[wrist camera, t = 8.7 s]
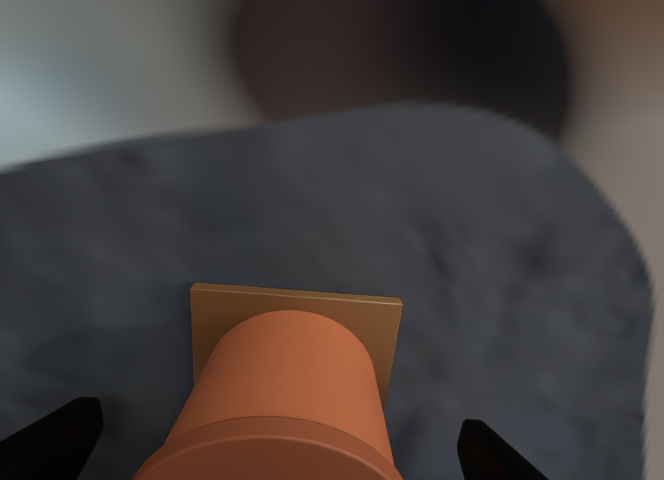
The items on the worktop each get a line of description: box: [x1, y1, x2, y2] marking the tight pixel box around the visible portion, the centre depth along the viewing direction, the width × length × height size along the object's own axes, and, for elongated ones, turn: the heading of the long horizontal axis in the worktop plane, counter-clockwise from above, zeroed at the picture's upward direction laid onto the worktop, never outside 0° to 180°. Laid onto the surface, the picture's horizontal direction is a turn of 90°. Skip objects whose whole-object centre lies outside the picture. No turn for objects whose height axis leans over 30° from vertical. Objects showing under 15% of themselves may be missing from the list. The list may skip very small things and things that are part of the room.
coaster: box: [190, 283, 403, 413], centre depth 9 cm, size 6×6×1 cm
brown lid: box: [132, 310, 403, 480], centre depth 7 cm, size 5×5×4 cm
